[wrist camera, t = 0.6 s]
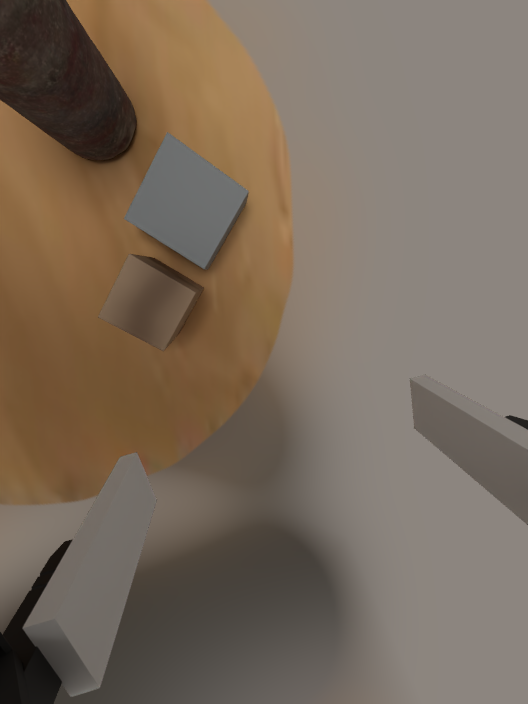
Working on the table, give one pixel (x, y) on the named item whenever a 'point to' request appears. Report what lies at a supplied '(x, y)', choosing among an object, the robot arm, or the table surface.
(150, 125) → the table surface
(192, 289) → the walnut block
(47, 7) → the candle
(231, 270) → the table surface
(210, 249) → the base block
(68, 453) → the table surface
